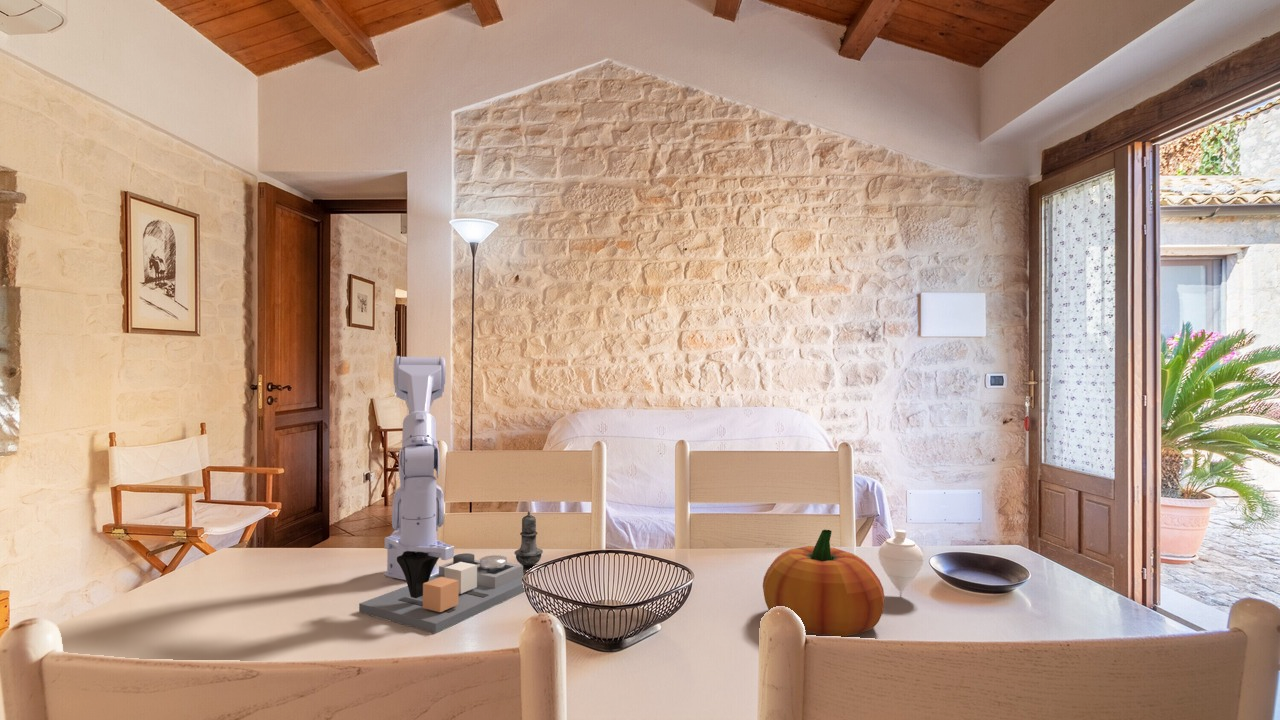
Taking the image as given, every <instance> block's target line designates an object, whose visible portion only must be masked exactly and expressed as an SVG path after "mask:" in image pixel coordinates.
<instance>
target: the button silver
mask: <svg viewBox="0 0 1280 720" xmlns="http://www.w3.org/2000/svg"><path fill="white" fill-rule="evenodd" d="M507 560H508V558H507V557H506V556H505V555H500V554H499V555H497V554H495V555H487V556H484V557H481V558H479V561H480V569H481V570H484V571H498V570H502V569H504V568H506V567H507V563H508V562H507Z"/></svg>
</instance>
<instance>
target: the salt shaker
mask: <svg viewBox="0 0 1280 720" xmlns="http://www.w3.org/2000/svg"><path fill="white" fill-rule="evenodd" d="M521 519H522V520H521V532H520V533H519V534H520V536H521V543H520V547H519V549H517V550H515V551H514V553H513V554H514V555H515V558H516V561H517V562H518V563H519V565H523V574H526V573H525V572H526V571H527V570H529V569H530V568H532V567H533V566H535V565H539V564H538V563H539V562H540V560H541V558H542V554H543V552H544V551H543V549H542V548H539V547H538V546H537V535H538V534H539V533H538V532H537V528H536V527H537V522H536V521H537V519H536V516H533V515H532V514H531V511H528V512H527V514H526V515H524V516H523V517H522V518H521Z"/></svg>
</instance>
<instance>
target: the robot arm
mask: <svg viewBox="0 0 1280 720" xmlns="http://www.w3.org/2000/svg"><path fill="white" fill-rule="evenodd" d="M446 364H447V363H446V359H445V358H444V356H442V355H441V356H400V355H397V356H396V357H394V358H393V386H394V393H395V394H396V398H399V399H401V400H403V401H405V404H406V406H407V410H408V414H407V415H406V416H405V417H404V419H403V420H402V437H401V438H402V439H401V440H402V443H401V449H399V452H398V453H399V454H398V476H399V484H400V486H399V487H398V488H396V489H395V490H394V492H393V494H392V495H393V496H392V499H393V500H392V505H391V506H392V508H391V509H392V511H391V525H392V529H393V530H394V531H393V532H392V533H391V534H390V536H387V537H384V549H385V550H387V551H386V552H387V555H386V556H387V557H386V559H387V560H386V563H387V564H386V569H387V570H386V571H385V572H383V576H385V577H389V578H393V579H397V580H402V581H406V583H407V586H408V588H409V592H410V596H411V597H413V598H418V597H421V596H423V583H426V582H428V581H429V578H430V577H433V576H436V575H438V574H439V567H437V562H438V561H439V559H440V560H441V561H447V560H450V559H453V558H454V556H455V546H454V545H450V544H447V543H445V542H443V541H441V540H439V539H438V531H439V530H438V528H441V527H442V526H443V525H444V522H445V501H444V500H445V498H444V491H443V488H442V487H441V486H440V485H438V484H437V483H438V482H437V479H439V475H440V464H441V463H440V461H441V459H440V457H441V456H440V449H439V444H438V440H437V421H436V418H435V416H434V415H433V414H431V408H432V406H433V403H434V401H435V400H437V399H439V398H441V397H443V394H444V392H445V385H446V368H447V367H446ZM435 471H436V476H435V475H434V474H435V473H434V472H435Z"/></svg>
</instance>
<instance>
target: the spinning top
mask: <svg viewBox="0 0 1280 720" xmlns="http://www.w3.org/2000/svg"><path fill="white" fill-rule="evenodd" d="M878 560H879V563H880V566H881V567H882V570H883V571H884V573H885V574H886V576H887V577H888V579H889V581H890V582H891V584H893V586H894V587H895V589H897V590H898V592H899V596H900V597H902V596H903V592H904V591H905V590H906V589H908V587H909V586H910V585H911V584H912V583H913V581H914V580H915V579H916V577H917V576H918V574H919V573H920V571H921V570H922V567H923V565H924V554H923V551H922V550H921V548H920V547H919V546H918V545H917V544H916V542H915V541H913V540H912V539H909V538H907V531H906V530H904V529H895V530H894V537H889V538H887V539H886V540H885V541H884V542H883V543H882V544H881V545H880V547H879V549H878Z"/></svg>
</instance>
